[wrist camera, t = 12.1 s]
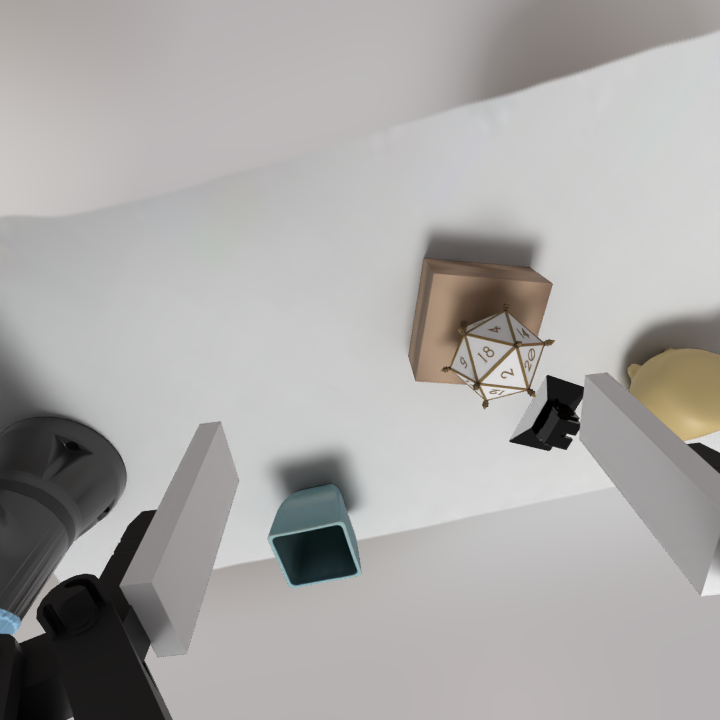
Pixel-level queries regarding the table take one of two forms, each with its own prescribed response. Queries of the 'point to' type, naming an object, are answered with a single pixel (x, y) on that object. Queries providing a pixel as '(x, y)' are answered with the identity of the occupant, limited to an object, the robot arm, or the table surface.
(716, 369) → the toy pig
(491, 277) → the walnut block
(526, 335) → the game die
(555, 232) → the table surface
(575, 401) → the black angular block
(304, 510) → the flower pot
